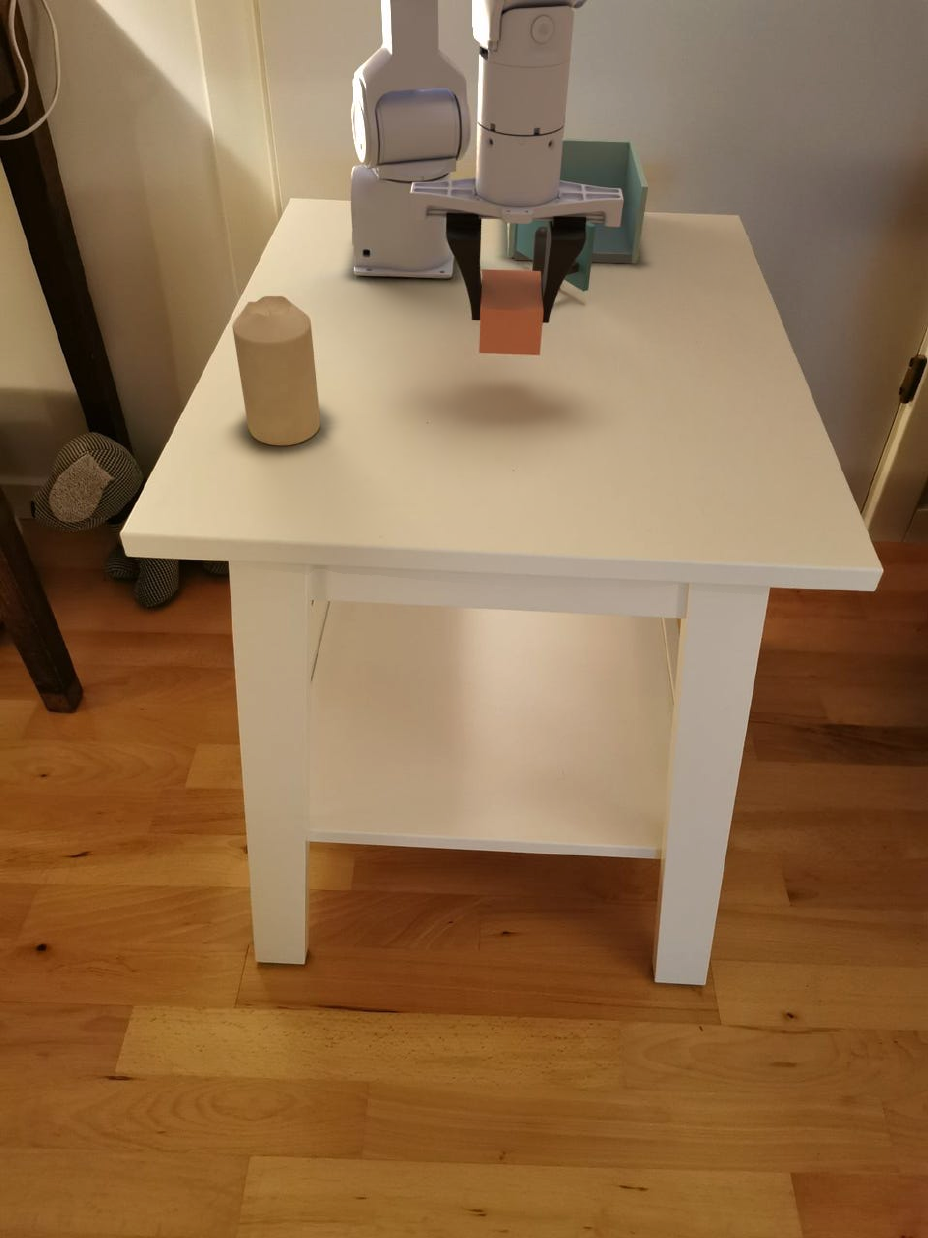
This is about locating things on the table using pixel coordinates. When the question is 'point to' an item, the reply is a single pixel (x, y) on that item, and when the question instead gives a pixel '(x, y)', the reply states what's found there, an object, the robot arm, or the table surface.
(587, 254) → the shower door
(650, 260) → the table surface
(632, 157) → the shower
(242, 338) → the candle
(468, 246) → the robot arm
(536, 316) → the soap
